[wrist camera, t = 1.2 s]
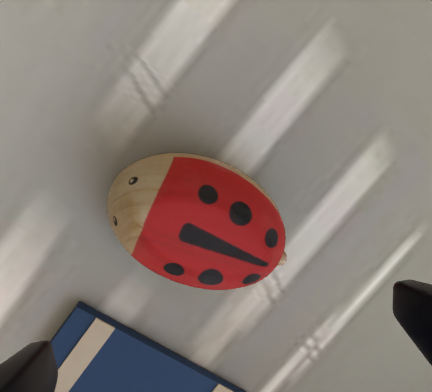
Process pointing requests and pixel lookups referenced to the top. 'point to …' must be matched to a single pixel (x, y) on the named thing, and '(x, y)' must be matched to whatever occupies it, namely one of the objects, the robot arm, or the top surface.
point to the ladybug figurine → (196, 221)
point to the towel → (122, 360)
